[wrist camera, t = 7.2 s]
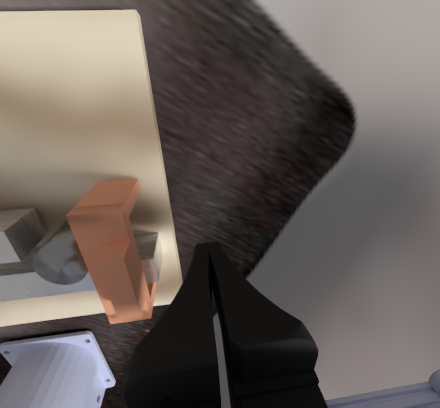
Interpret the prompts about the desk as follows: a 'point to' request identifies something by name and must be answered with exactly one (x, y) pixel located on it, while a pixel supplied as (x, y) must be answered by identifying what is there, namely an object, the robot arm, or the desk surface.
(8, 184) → the board
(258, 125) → the desk surface
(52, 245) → the tong base
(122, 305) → the collar
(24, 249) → the bar
